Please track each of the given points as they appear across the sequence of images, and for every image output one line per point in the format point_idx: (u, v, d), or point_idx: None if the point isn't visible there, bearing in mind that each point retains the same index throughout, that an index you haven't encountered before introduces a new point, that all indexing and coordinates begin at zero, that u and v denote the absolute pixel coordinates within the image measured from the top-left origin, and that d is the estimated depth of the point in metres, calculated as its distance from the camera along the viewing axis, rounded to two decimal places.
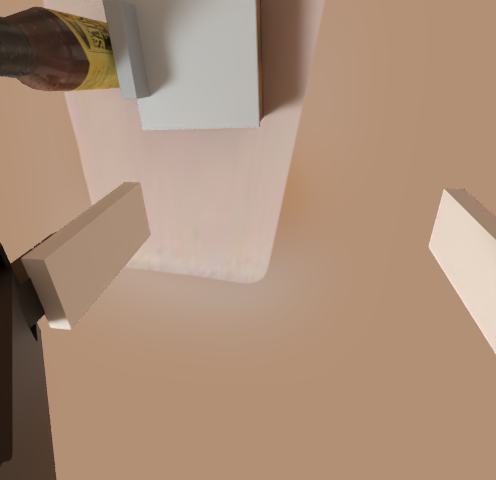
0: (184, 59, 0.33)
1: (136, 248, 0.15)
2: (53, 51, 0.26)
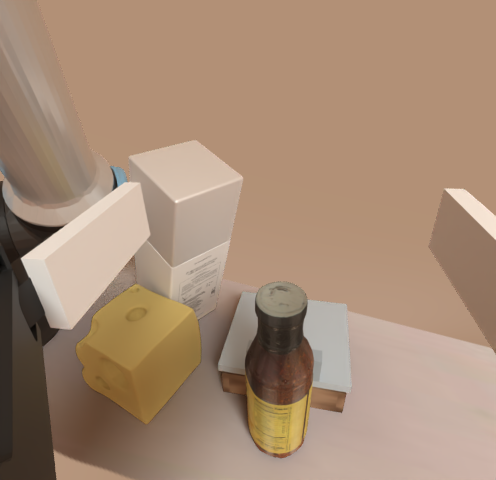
0: None
1: (136, 248, 0.15)
2: None
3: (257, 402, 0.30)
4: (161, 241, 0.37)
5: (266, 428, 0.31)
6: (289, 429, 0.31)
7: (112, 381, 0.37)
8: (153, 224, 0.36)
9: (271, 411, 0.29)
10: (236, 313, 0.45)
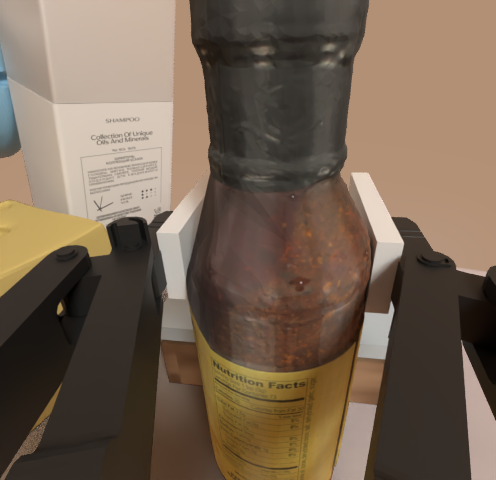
0: None
1: None
2: None
3: (219, 374, 0.11)
4: (32, 52, 0.20)
5: (249, 446, 0.12)
6: (307, 446, 0.12)
7: None
8: (18, 24, 0.20)
9: (260, 395, 0.10)
10: None
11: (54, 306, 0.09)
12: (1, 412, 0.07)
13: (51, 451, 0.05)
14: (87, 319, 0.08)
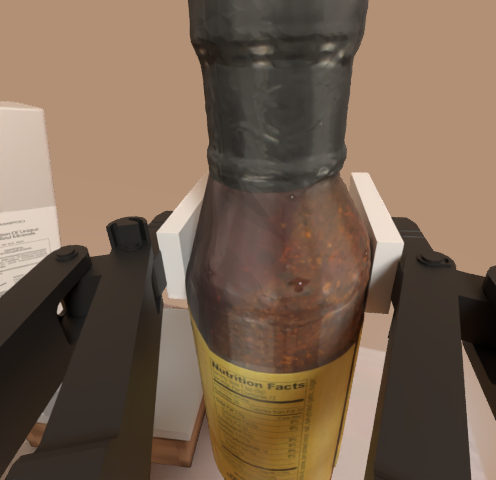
0: None
1: None
2: None
3: (218, 375, 0.11)
4: None
5: (248, 447, 0.12)
6: (307, 447, 0.12)
7: None
8: None
9: (260, 397, 0.10)
10: None
11: (53, 306, 0.09)
12: (1, 412, 0.07)
13: (51, 451, 0.05)
14: (87, 319, 0.08)
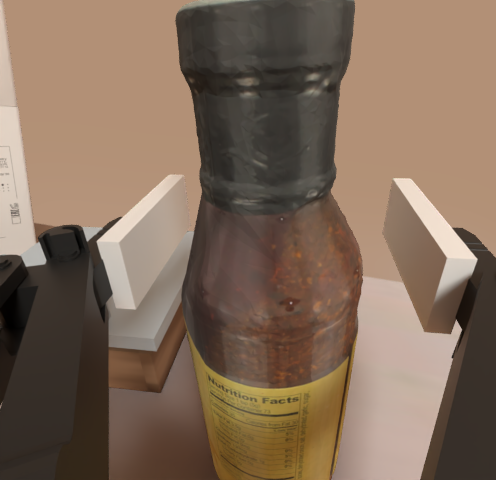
0: None
1: (180, 237, 0.16)
2: None
3: (214, 389, 0.11)
4: None
5: (245, 457, 0.12)
6: (303, 457, 0.12)
7: None
8: None
9: (255, 410, 0.10)
10: (28, 250, 0.28)
11: None
12: None
13: None
14: (25, 334, 0.07)
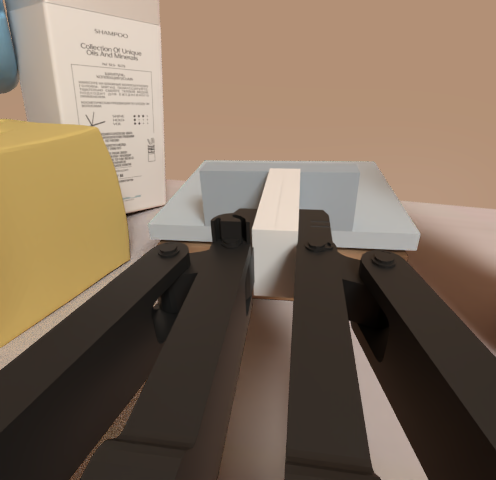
0: None
1: None
2: None
3: None
4: None
5: None
6: None
7: None
8: None
9: None
10: (192, 176, 0.27)
11: (149, 304, 0.09)
12: (88, 404, 0.07)
13: (132, 444, 0.05)
14: (181, 311, 0.08)
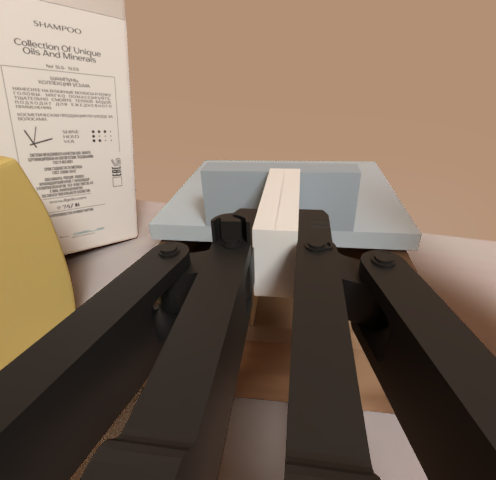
0: None
1: None
2: None
3: None
4: None
5: None
6: None
7: None
8: None
9: None
10: (193, 176, 0.27)
11: (149, 304, 0.09)
12: (89, 404, 0.07)
13: (132, 443, 0.05)
14: (181, 311, 0.08)
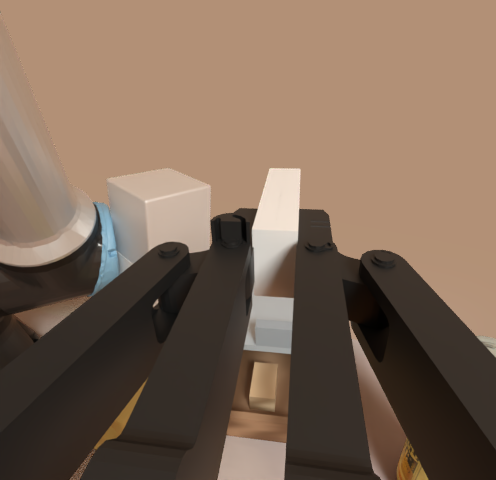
0: None
1: None
2: None
3: None
4: (139, 252, 0.38)
5: None
6: None
7: None
8: (130, 237, 0.39)
9: None
10: None
11: (149, 304, 0.09)
12: (89, 404, 0.07)
13: (132, 444, 0.05)
14: (181, 311, 0.08)
